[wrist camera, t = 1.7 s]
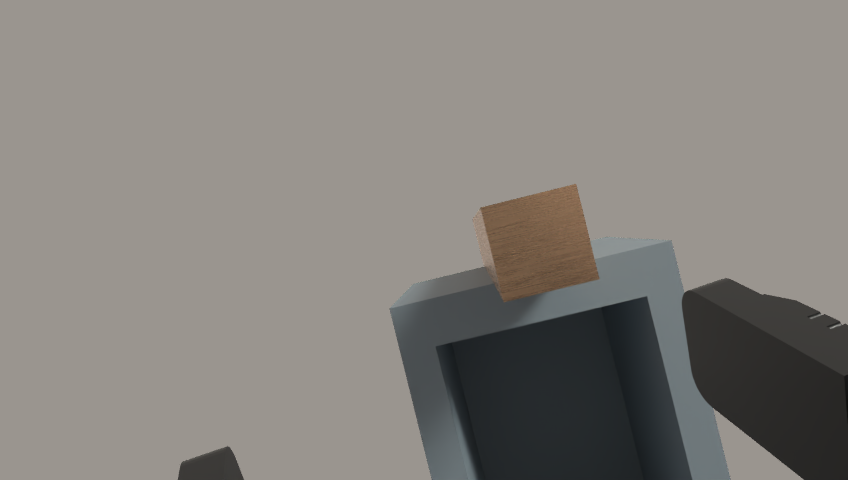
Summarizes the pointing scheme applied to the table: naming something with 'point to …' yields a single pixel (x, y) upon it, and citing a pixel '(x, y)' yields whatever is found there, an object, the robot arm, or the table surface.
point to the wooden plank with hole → (536, 243)
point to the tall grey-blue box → (559, 375)
